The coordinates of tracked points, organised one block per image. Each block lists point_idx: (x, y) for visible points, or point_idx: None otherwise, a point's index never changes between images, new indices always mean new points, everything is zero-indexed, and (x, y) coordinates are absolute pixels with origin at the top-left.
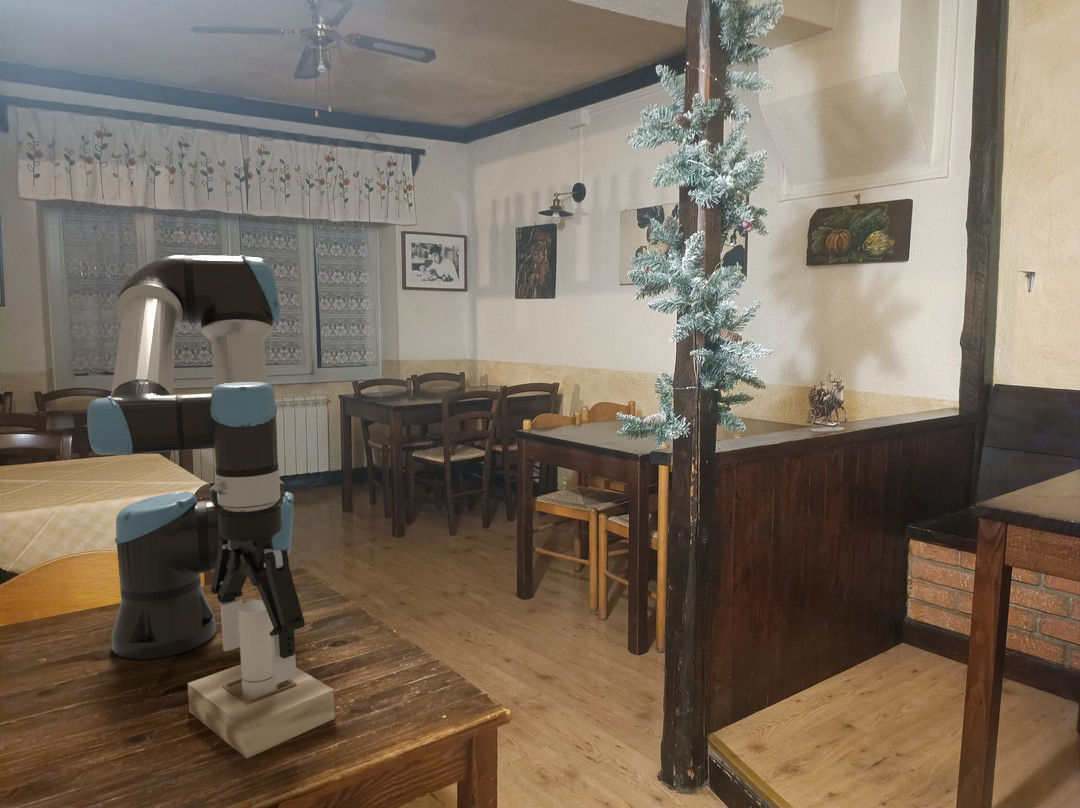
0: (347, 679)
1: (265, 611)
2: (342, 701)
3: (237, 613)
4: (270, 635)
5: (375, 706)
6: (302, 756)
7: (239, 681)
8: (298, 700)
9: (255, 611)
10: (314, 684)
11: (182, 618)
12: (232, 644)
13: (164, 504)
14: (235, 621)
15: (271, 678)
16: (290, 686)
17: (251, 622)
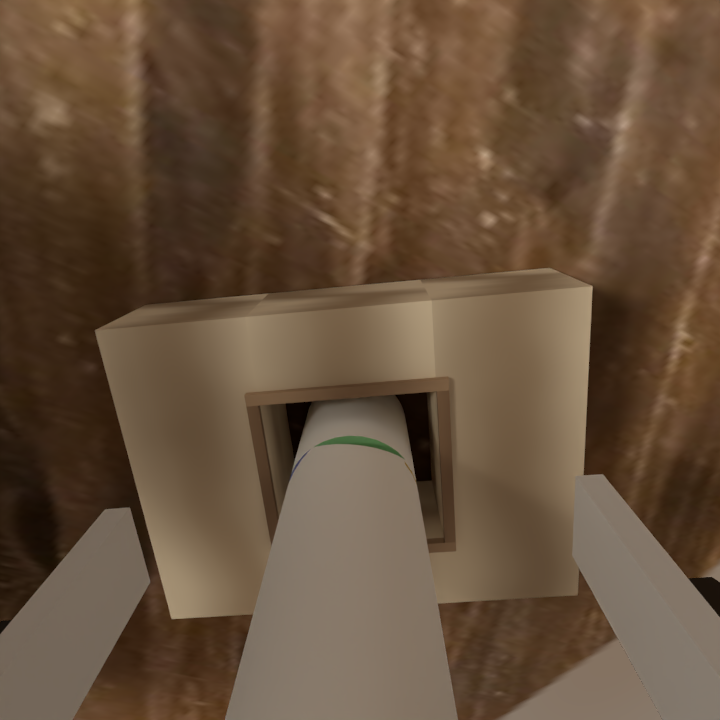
0: (322, 84)
1: None
2: (465, 189)
3: (37, 676)
4: (434, 611)
5: (591, 110)
6: (652, 428)
7: (278, 513)
8: (559, 419)
9: None
10: (492, 323)
11: None
12: (134, 573)
13: None
14: (68, 646)
15: (412, 474)
16: (449, 403)
17: None
